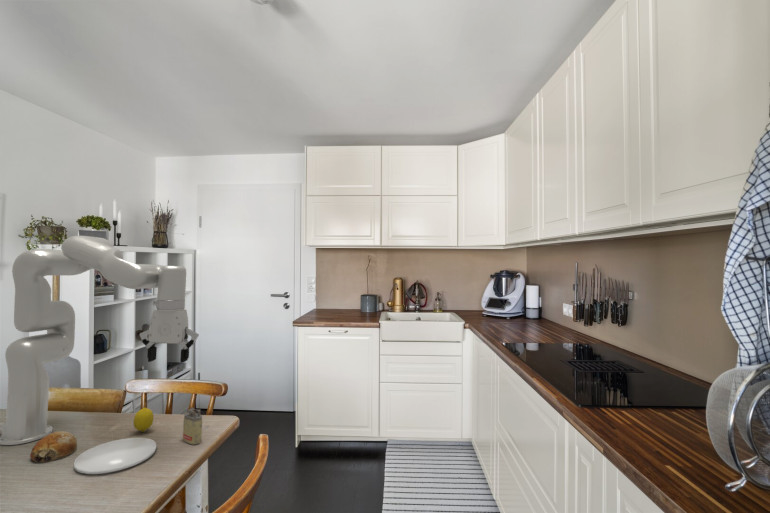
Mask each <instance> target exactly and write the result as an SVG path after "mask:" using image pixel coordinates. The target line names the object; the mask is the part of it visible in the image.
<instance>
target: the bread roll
mask: <svg viewBox="0 0 770 513" xmlns="http://www.w3.org/2000/svg"><path fill="white" fill-rule="evenodd" d="M77 449H78V441H77V437H75V435H73V434H72V433H70V432H69V431H65V430H64V431H62V430H61V431H54V432H51V433H50V434H49V435H47V436H45V437H43V438H41V439H39V441H38V442H36V443H35V445H34V446H33V447H32V448H31V452H30V455H29V456H30V459H31V460H32V462H35V463H41V464H42V463H47V462H53V461H56V460H60V459H63V458H65V457H67V456H70V455H71V454H73V453H74V452H75V451H76V450H77Z"/></svg>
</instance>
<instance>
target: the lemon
mask: <svg viewBox="0 0 770 513" xmlns="http://www.w3.org/2000/svg"><path fill="white" fill-rule="evenodd" d="M153 423H154V412H153V411H152V409H150V408H148V407H143V408H141V409H139V410H138V411H136V413H135V415H134V418H133V427H134V428H135V430H136V431H139V432H141V433H145V431H146V430H148V429H150V428H151V426H152V425H153Z"/></svg>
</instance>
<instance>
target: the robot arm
mask: <svg viewBox="0 0 770 513" xmlns="http://www.w3.org/2000/svg"><path fill="white" fill-rule="evenodd" d="M92 269H93V270H95V271H98V272H99V273H100V275H101V276H102V277H103V279H105V280H107V281H108V282H110V283H113V284H116V285H118V286H120V287H122V288H126V289H131V290H141V289H142V290H143V289H157V293H156V294H157V298H156V300H155V301H153V302H152V305H153V306H154V307H155V309H153V311H152V313H151V318H150V320H149V321H150V322H149V326H148V327H149V328H148V329H147V330H145V331H142V332H140V333H139V337H140V339H141V343H142V344H143V345H144V346H145V348H146V349H147V354H146V355H147V357H146V358H147V362H149V363H151V362H153V361H155V360H156V359H157V348H158V347H157V346H156V345H157V344H171V345H172V344H179V345H180V346H181V347H182V349H181V350H180V363H185V362H187V361H188V360H189V358H190V348H191V347H192V346H193V345H194V344H195V343H196V341H197V339H198V338H199V335H200V334H199V333H198V332H195V331H194V330H192V329H190V328H189V316H188V311H187V309H185V307H186V302H185V301H186V287H187V283H186V282H187V269H186V268H185V266H181V265H161V264H151V263H150V264H148V263H133V262H130V261H127V260H124V255H123V253H122V251H121V250H120V249H119V248H117V247H115V246H114V245H113V243H112V242H111V241H110V240H108V239H106V238H103V237H96V236H89V235H73V236H69V237H68V238H66V239H65V240H64V241H62V243H61V246H60V249H54V248H53V249H49V248H35V249H29V250H25V251H22V253H20V254H18V256H17V257H16V258H15V259H14V261H13V264H12V270H11V272H12V279H13V284H14V305H13V306H14V308H13V309H14V310H13V324H14V327H15V329H16V330H17V331H18V332H22V333H33V332H40V331H41V332H42V331H46V333H44V334H36V335H30V336H24V337H21V338H19V339H18V338H17V339H16V340H14V341H13V342H11V343H9V344H8V346H7V347H6V349H5V353H4V354H5V355H4V356H5V362H6V366H7V376H8V377H7V379H8V380H7V382H8V383H7V396H6V397H7V398H6V413H5V422H4V421H3V422H0V432H1V435H0V445H1V446H15V445H21V444H27V443H31V442H35V441H38V440H41V439H42V438H44V437H45V436H47V435H49V434H51V433H53V429H54V428H53V426H52V425H49V424H48V408H49V393H50V392H49V390H50V374H49V373H48V371H47V370H46V369H45V366H44V364H48V363H52V362H56V361H60V360H62V359H66V358H68V356H70V355H71V354H72V352H73V351H74V347H75V338H76V337H75V336H76V335H75V334H76V331H75V330H76V312H75V310H74V308H73V306H72V304H70V303H69V302H67V301H64V300H52V287H51V285H50V283H49V281H48V280H47V279H46V278H45V277H46V276H56V277H57V276H63V277H64V276H76V275H77V276H79V275H81V274H83V273H86V272H87V271H90V270H92ZM189 336H190V337H191V338H190V340H189V339H188V338H189Z"/></svg>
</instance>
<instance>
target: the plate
mask: <svg viewBox="0 0 770 513" xmlns="http://www.w3.org/2000/svg"><path fill="white" fill-rule="evenodd" d="M156 451H157V443H156V441H155V440H153V439H150V438H147V437H127V438H120V439H115V440H111V441H108V442H103V443H100V444H98V445H96V446H93V447H91V448H89V449H87V450H85V451H83V452H81V453H80V454H79V455H78V456H77V457H76V458H75V460H74V463H73V468H74V470H75V471H77V472H78V473H81V474H85V475H99V474H108V473H113V472H114V473H115V472H118V471H122V470H125V469H128V468H131V467H134V466H136V465H138V464H141V463H143V462H144V461H146V460H148V459H149V458H151V457H152V456H153V455H154V454H155V453H156Z"/></svg>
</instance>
